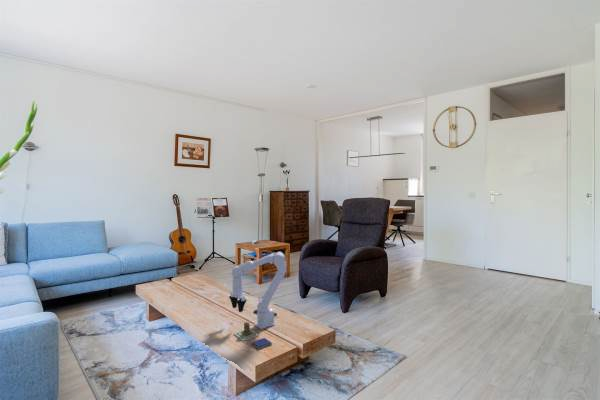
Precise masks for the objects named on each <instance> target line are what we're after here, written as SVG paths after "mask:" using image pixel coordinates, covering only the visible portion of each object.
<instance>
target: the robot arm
mask: <svg viewBox="0 0 600 400" xmlns="http://www.w3.org/2000/svg"><path fill="white" fill-rule="evenodd" d="M268 263H269V264H271V265H272V264H273V265H275V267H276V269H277V271H276V272H275V275H274V276H273V279H272V280H271V282H270V284H269V286H268V287H267V289H266V290H265V293H264V294H263V295H262V296H261V297H260V298H259V299H258V303H257V306H256V308H257V309H256V310H257V314H256V315H257V316H256V317H257V319H256V320H257V322H256V323H254V326H256V327H257V328H259V329H260V330H263V329H266V328H269V327H273V326H275V316H274V313H275V312H274V310H273V308H269V304H270V303H271V300H272V299H273V296H274V295H275V293H276V291H277V289H278V288H279V286H280V284H281V283H282V280H283V278H284V277H285V275H286V273H287V261H286V256H285V255H284V253H283V252H282V251H277V252H273V253H270V254H267V255H265V256H263V257H261V258H258V259H256V260H255V261H253V260H247V261H245V262H243V263H240V264H238V265H236V266H234V267H233V268H232V269H231V275H232V290H231V291H230V296H228V298H229V300H230V302H231V306H232V309H236V308H238V313H243V311H244V307H245V304H246V303H247V299H246V296H245V295H244V293H243V292H244V291H243V275H245V274H247V273H251V272H253V271H255V269H256V268H257V267H259V266H261V265H265V264H268Z"/></svg>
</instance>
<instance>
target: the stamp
mask: <svg viewBox="0 0 600 400" xmlns="http://www.w3.org/2000/svg"><path fill="white" fill-rule="evenodd" d="M250 329H251V328H250V321H245V322H243V330H244V331H243V330H241V333H242V335H244V336H248V335H250V334H252V331H251V330H250Z"/></svg>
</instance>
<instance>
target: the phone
mask: <svg viewBox="0 0 600 400" xmlns="http://www.w3.org/2000/svg"><path fill="white" fill-rule="evenodd" d="M253 313H254V314H256V315H257V309H256V310H255V309H254V310H253ZM276 316H278V313H277V312H274V317H276Z"/></svg>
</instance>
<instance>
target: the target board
mask: <svg viewBox="0 0 600 400" xmlns="http://www.w3.org/2000/svg"><path fill="white" fill-rule="evenodd" d="M250 330H251V331H252V334H250V335H248V336H244V335H242V333H241V331H244V329H243V330H241V331H237V332H235V333H233V335H234V336H236V337H237V338H238V339H239V340H240V341H242V342H245V341H248V340H251V339H254V338H258V337H259V336H260V334H258V332H256V331H254V330H253V329H252V328H250Z"/></svg>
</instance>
